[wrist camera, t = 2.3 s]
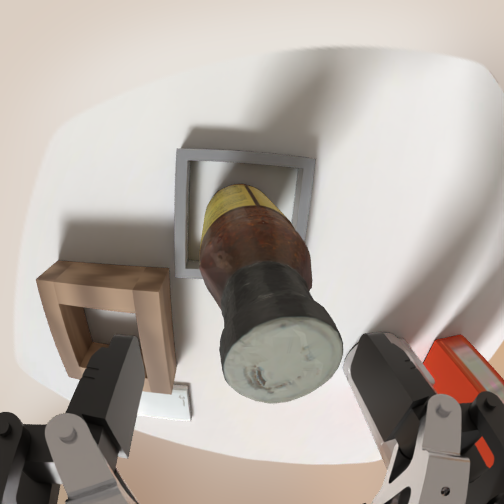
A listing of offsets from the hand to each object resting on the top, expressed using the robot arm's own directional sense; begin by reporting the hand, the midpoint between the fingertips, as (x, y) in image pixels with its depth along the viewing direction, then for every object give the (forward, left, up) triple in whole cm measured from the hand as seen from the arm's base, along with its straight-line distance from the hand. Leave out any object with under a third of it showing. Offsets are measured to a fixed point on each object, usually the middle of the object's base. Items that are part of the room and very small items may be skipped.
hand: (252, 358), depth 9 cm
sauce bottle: (0, 0, -19) cm, 19 cm away
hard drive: (+12, +28, -20) cm, 36 cm away
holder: (+14, +13, -19) cm, 26 cm away
